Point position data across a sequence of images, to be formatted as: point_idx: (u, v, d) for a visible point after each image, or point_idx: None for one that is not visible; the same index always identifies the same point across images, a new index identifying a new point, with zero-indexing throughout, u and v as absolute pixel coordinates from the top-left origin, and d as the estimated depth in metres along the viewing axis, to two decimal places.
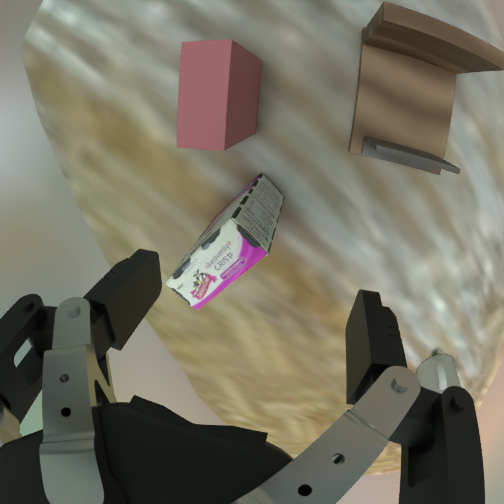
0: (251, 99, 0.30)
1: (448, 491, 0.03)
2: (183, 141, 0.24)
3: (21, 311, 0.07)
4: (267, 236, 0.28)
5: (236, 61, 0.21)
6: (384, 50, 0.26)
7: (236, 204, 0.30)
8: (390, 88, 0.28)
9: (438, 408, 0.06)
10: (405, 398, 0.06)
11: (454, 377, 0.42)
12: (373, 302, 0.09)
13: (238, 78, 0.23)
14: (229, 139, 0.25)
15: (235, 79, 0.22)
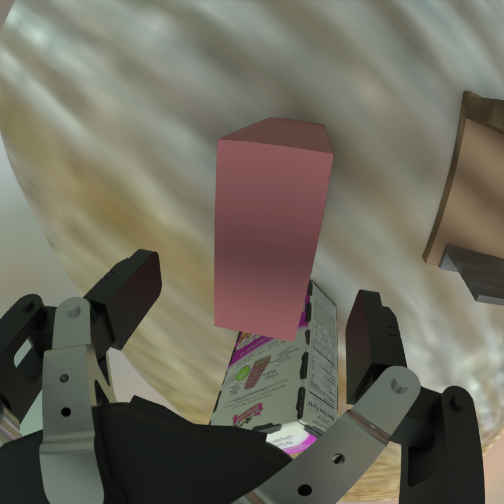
0: None
1: (448, 491, 0.03)
2: (225, 320, 0.16)
3: (21, 311, 0.07)
4: (333, 413, 0.19)
5: None
6: (489, 129, 0.17)
7: (292, 364, 0.21)
8: (487, 184, 0.19)
9: (438, 408, 0.05)
10: (405, 398, 0.06)
11: None
12: (373, 302, 0.09)
13: None
14: None
15: None
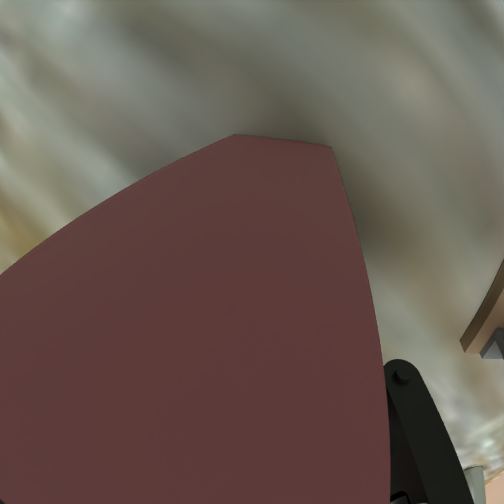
0: None
1: (417, 466, 0.04)
2: None
3: None
4: None
5: None
6: None
7: None
8: None
9: None
10: None
11: (481, 493, 0.23)
12: None
13: None
14: None
15: None
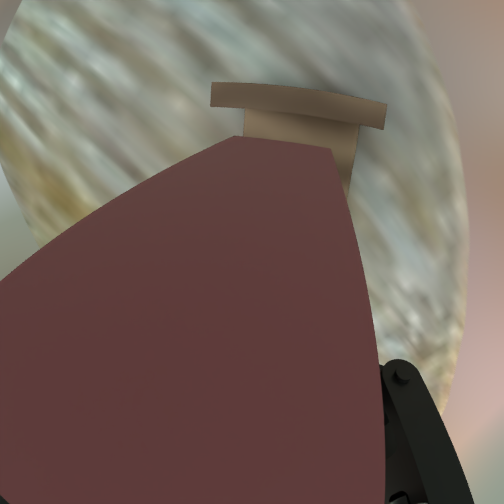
0: None
1: (417, 466, 0.04)
2: None
3: None
4: None
5: None
6: None
7: None
8: None
9: (382, 385, 0.06)
10: None
11: None
12: None
13: None
14: None
15: None
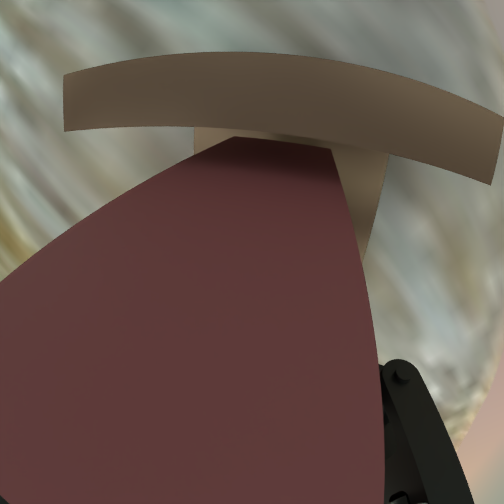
0: None
1: (417, 466, 0.04)
2: None
3: None
4: None
5: None
6: None
7: None
8: None
9: (382, 385, 0.06)
10: None
11: None
12: None
13: None
14: None
15: None
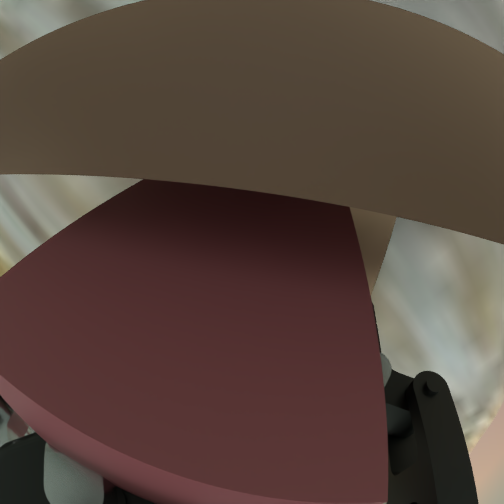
0: None
1: (434, 477, 0.04)
2: None
3: None
4: None
5: None
6: None
7: None
8: None
9: (411, 395, 0.06)
10: None
11: None
12: None
13: None
14: None
15: None
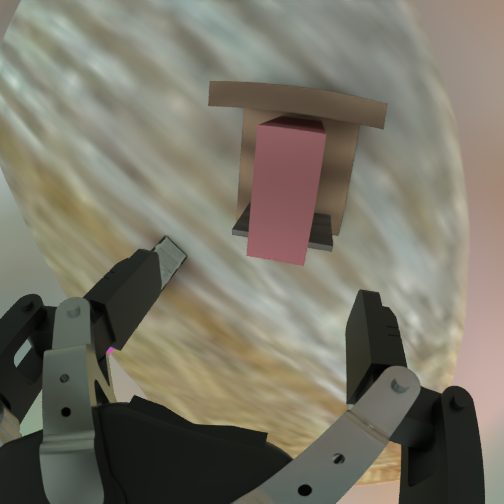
0: None
1: (448, 491, 0.03)
2: (255, 250, 0.22)
3: (21, 311, 0.07)
4: None
5: None
6: None
7: None
8: None
9: (438, 408, 0.05)
10: (405, 398, 0.06)
11: None
12: (373, 302, 0.09)
13: None
14: None
15: None
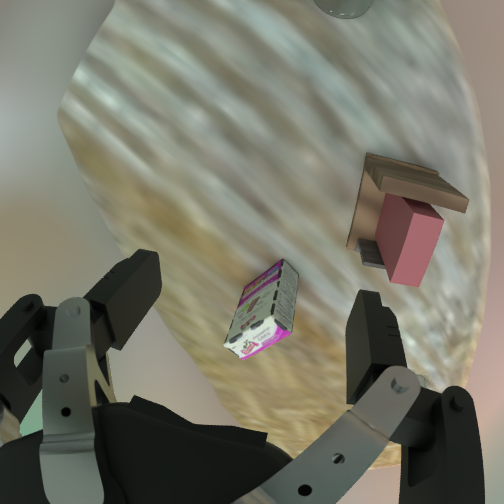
0: None
1: (448, 491, 0.03)
2: (395, 279, 0.35)
3: (21, 311, 0.07)
4: (290, 320, 0.44)
5: None
6: None
7: (270, 296, 0.46)
8: (381, 203, 0.44)
9: (438, 408, 0.05)
10: (405, 398, 0.06)
11: None
12: (373, 302, 0.09)
13: None
14: None
15: None
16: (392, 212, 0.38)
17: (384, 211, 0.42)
